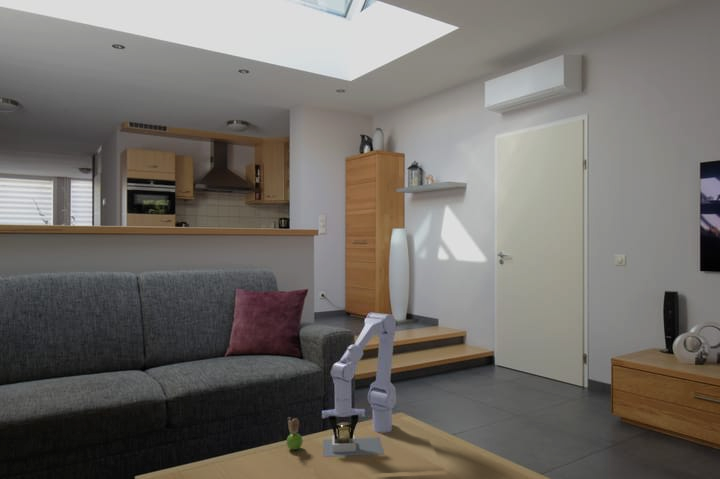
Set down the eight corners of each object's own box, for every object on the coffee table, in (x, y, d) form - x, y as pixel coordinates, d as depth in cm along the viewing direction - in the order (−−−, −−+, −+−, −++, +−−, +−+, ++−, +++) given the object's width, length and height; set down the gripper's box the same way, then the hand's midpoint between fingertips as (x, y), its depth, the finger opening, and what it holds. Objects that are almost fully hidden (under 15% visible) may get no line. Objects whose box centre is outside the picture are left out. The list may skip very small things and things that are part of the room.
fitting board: (323, 442, 175) (323, 432, 175) (379, 440, 177) (379, 430, 177) (323, 459, 161) (323, 448, 161) (384, 457, 163) (384, 446, 163)
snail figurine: (282, 452, 168) (281, 416, 168) (291, 445, 174) (291, 410, 174) (296, 454, 166) (295, 418, 166) (305, 447, 172) (305, 412, 172)
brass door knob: (337, 440, 171) (336, 423, 171) (351, 439, 171) (350, 421, 172) (337, 446, 166) (336, 428, 166) (352, 444, 166) (351, 426, 167)
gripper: (321, 402, 165) (322, 443, 164) (365, 400, 166) (365, 441, 165) (321, 395, 172) (322, 435, 171) (363, 394, 173) (364, 433, 173)
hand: (343, 437), depth 169 cm, fingers closed on brass door knob, 5 cm apart
